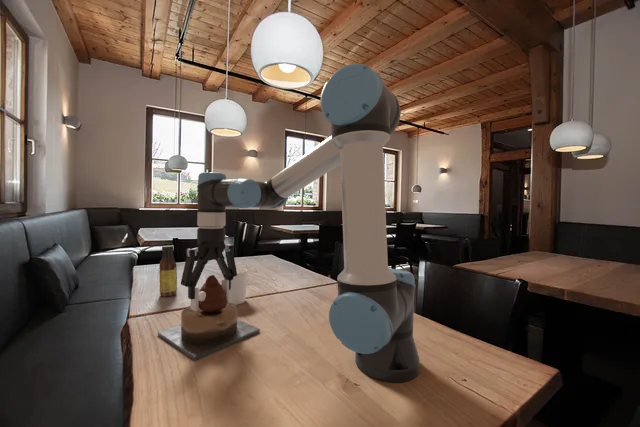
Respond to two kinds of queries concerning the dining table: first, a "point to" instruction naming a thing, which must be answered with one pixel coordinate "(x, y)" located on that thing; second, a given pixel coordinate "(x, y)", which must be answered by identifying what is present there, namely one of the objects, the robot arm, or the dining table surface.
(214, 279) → the poop emoji
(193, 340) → the post stand
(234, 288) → the candle holder
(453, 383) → the dining table surface
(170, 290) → the sauce bottle
